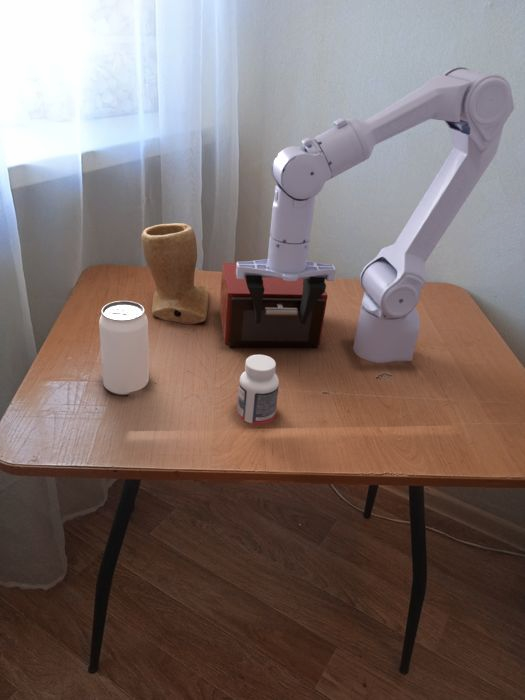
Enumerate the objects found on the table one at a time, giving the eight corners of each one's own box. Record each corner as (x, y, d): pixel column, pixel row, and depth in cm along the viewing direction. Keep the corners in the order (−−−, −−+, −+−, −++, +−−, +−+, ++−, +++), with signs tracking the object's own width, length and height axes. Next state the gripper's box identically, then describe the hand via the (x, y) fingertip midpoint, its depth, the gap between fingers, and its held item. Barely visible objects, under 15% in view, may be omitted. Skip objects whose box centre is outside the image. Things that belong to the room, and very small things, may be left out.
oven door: (316, 345, 94) (324, 298, 89) (321, 357, 91) (329, 308, 86) (228, 345, 91) (231, 296, 87) (230, 357, 88) (233, 307, 84)
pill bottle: (280, 412, 79) (287, 359, 74) (265, 433, 74) (271, 378, 70) (247, 400, 80) (251, 347, 76) (230, 420, 76) (234, 365, 72)
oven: (305, 315, 105) (312, 265, 99) (319, 348, 95) (327, 295, 89) (219, 313, 102) (222, 262, 97) (224, 348, 92) (227, 293, 87)
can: (139, 400, 78) (136, 325, 72) (95, 391, 79) (89, 316, 73) (155, 375, 84) (154, 303, 77) (114, 367, 84) (110, 296, 78)
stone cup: (147, 288, 109) (146, 212, 101) (209, 291, 110) (212, 217, 102) (136, 326, 96) (132, 242, 88) (206, 330, 97) (209, 247, 89)
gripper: (242, 245, 75) (235, 333, 82) (346, 249, 78) (331, 334, 85) (237, 227, 81) (231, 310, 88) (334, 231, 83) (321, 312, 90)
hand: (280, 320), depth 87 cm, fingers open, 6 cm apart
